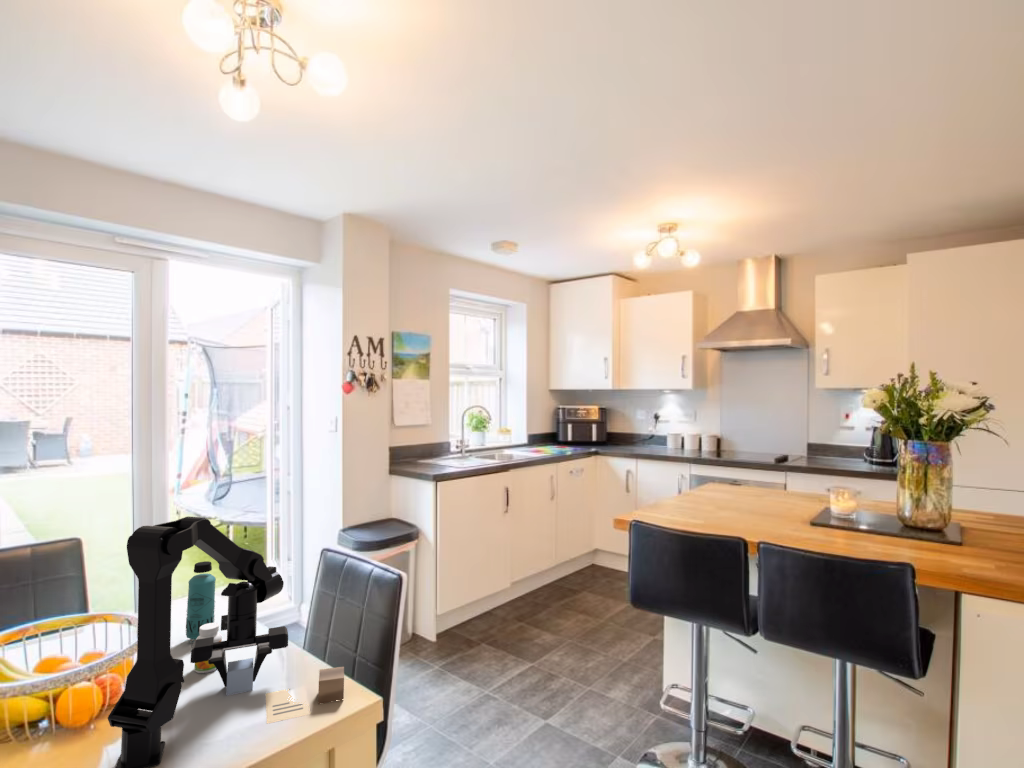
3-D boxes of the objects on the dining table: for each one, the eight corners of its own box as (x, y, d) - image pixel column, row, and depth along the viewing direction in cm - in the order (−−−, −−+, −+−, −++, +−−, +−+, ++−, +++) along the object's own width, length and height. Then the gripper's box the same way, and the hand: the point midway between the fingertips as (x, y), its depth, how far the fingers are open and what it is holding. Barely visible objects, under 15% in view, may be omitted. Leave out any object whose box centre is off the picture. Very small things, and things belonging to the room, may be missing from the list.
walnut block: (343, 702, 112) (344, 677, 112) (318, 705, 111) (318, 681, 111) (343, 689, 117) (344, 666, 117) (319, 693, 115) (319, 669, 116)
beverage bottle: (186, 636, 142) (189, 560, 143) (215, 632, 145) (217, 557, 145) (183, 647, 136) (186, 567, 137) (213, 642, 139) (216, 564, 140)
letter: (310, 714, 107) (310, 713, 107) (266, 724, 104) (266, 723, 104) (305, 686, 118) (305, 685, 118) (265, 694, 114) (265, 693, 114)
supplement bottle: (189, 670, 124) (190, 627, 125) (211, 660, 129) (213, 619, 129) (203, 676, 122) (205, 632, 122) (225, 666, 127) (227, 624, 127)
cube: (252, 691, 116) (253, 667, 116) (226, 696, 113) (227, 672, 114) (252, 680, 120) (253, 657, 120) (227, 685, 118) (228, 662, 118)
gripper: (286, 593, 129) (284, 659, 128) (196, 604, 121) (194, 675, 120) (289, 609, 119) (287, 681, 118) (191, 623, 111) (188, 700, 110)
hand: (240, 683), depth 117 cm, fingers closed on cube, 5 cm apart
